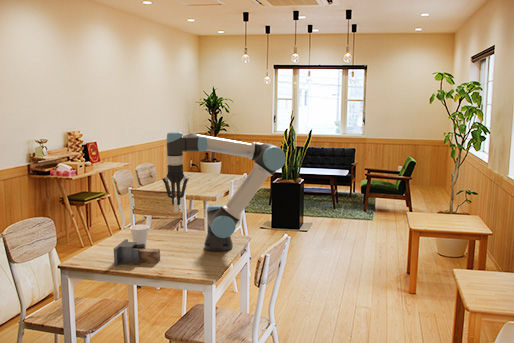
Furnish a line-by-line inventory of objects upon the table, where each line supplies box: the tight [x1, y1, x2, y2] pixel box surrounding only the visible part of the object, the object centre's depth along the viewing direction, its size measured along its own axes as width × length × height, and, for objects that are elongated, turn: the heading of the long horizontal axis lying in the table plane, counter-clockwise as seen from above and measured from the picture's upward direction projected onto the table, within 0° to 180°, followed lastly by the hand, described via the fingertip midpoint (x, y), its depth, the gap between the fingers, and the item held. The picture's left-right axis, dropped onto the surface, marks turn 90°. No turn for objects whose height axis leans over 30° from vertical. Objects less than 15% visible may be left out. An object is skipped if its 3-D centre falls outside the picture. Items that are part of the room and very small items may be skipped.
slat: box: [134, 248, 161, 264], centre depth 250 cm, size 18×4×6 cm, turn 83°
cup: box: [129, 224, 150, 247], centre depth 272 cm, size 10×10×11 cm
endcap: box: [113, 238, 146, 267], centre depth 250 cm, size 12×15×8 cm
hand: (176, 211), depth 250 cm, fingers closed
